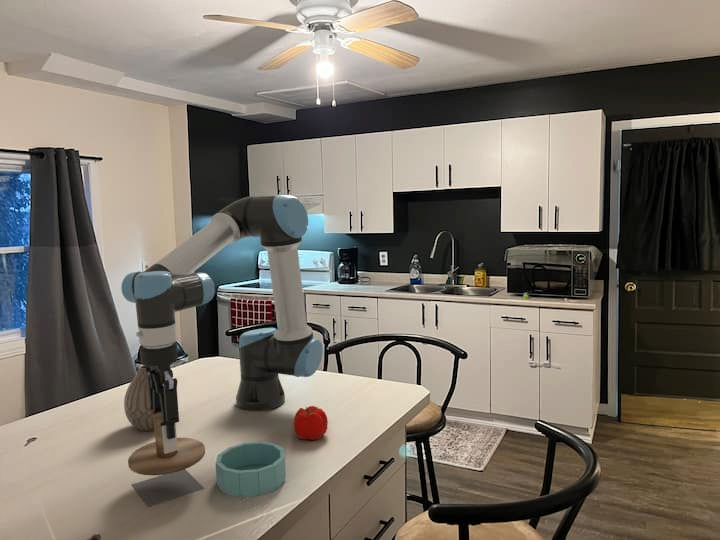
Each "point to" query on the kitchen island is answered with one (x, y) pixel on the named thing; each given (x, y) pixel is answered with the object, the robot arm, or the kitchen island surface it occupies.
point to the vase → (139, 402)
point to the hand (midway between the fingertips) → (166, 447)
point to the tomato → (310, 423)
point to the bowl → (250, 469)
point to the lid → (159, 463)
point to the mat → (166, 487)
